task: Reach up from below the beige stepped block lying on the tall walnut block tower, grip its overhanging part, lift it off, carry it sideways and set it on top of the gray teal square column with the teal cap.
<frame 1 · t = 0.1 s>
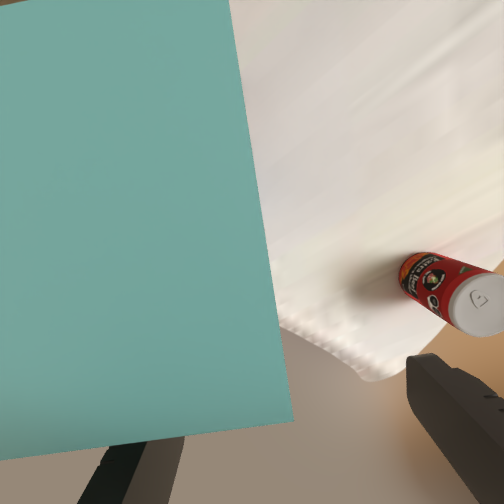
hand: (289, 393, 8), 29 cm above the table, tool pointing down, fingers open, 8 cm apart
gray teal square column: (226, 202, 36), on the table
canned food: (421, 274, 38), on the table
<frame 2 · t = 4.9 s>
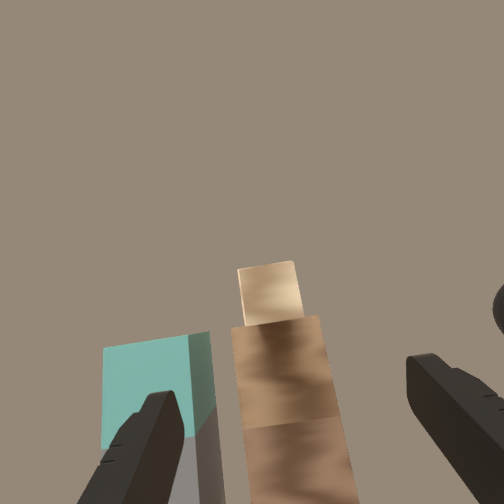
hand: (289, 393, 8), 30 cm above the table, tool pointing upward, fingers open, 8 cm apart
beige stepped block: (274, 321, 22), point 32 cm above the table, touching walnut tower
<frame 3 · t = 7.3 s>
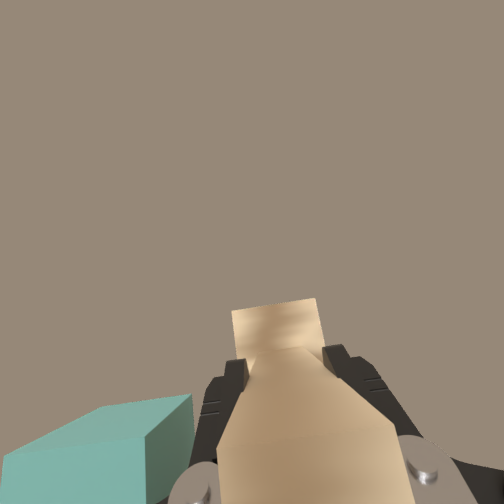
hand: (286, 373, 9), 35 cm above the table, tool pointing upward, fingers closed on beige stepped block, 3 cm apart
beige stepped block: (292, 416, 13), point 32 cm above the table, touching gripper, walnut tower
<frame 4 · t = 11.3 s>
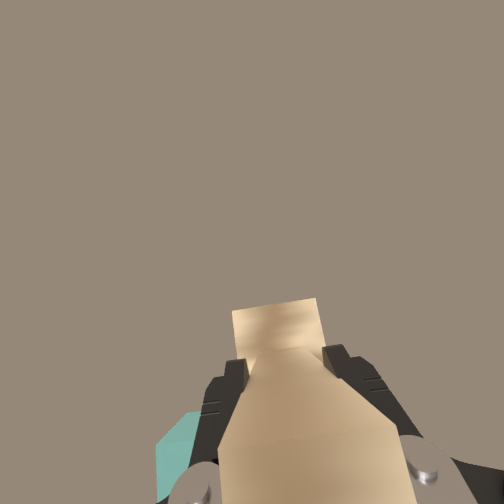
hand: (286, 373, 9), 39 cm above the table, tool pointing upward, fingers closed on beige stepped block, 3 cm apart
beige stepped block: (292, 416, 13), point 36 cm above the table, touching gripper
when the fingers open (36 cm above the table, at t = 15.4 s): beige stepped block drops 1 cm, resting on gray teal square column.
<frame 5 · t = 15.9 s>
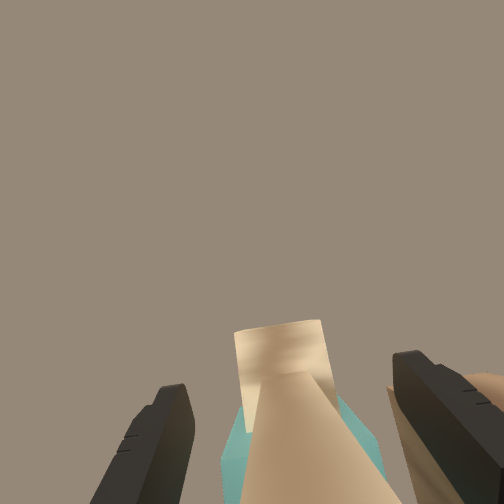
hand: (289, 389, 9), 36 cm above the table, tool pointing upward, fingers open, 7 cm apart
beige stepped block: (298, 451, 12), point 32 cm above the table, touching gray teal square column
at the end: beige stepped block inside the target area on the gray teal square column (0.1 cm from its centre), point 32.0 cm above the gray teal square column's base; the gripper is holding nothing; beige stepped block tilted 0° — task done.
